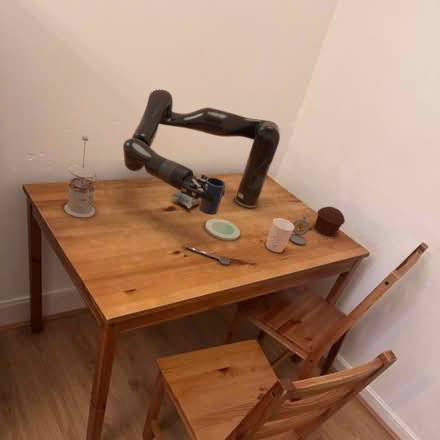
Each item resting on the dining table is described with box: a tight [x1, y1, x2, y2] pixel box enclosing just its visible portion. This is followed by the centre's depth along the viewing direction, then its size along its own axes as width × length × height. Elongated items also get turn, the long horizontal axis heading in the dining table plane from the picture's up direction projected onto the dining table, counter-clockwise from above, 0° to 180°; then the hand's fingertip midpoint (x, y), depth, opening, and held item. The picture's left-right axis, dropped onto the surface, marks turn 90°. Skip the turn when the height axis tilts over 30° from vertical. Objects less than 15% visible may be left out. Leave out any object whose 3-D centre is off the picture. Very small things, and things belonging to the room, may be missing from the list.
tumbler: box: [198, 176, 227, 216], centre depth 138 cm, size 6×6×10 cm
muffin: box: [314, 206, 345, 237], centre depth 178 cm, size 12×11×10 cm
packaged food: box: [171, 190, 201, 209], centre depth 165 cm, size 9×12×5 cm
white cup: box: [265, 217, 294, 253], centre depth 155 cm, size 8×8×10 cm
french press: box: [63, 135, 97, 218], centre depth 137 cm, size 10×12×25 cm
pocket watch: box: [289, 213, 310, 246], centre depth 165 cm, size 8×8×10 cm
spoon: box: [185, 245, 231, 266], centre depth 142 cm, size 4×16×1 cm, turn 78°
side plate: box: [204, 218, 241, 242], centre depth 157 cm, size 13×13×1 cm
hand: (219, 196), depth 137 cm, fingers closed on tumbler, 6 cm apart
